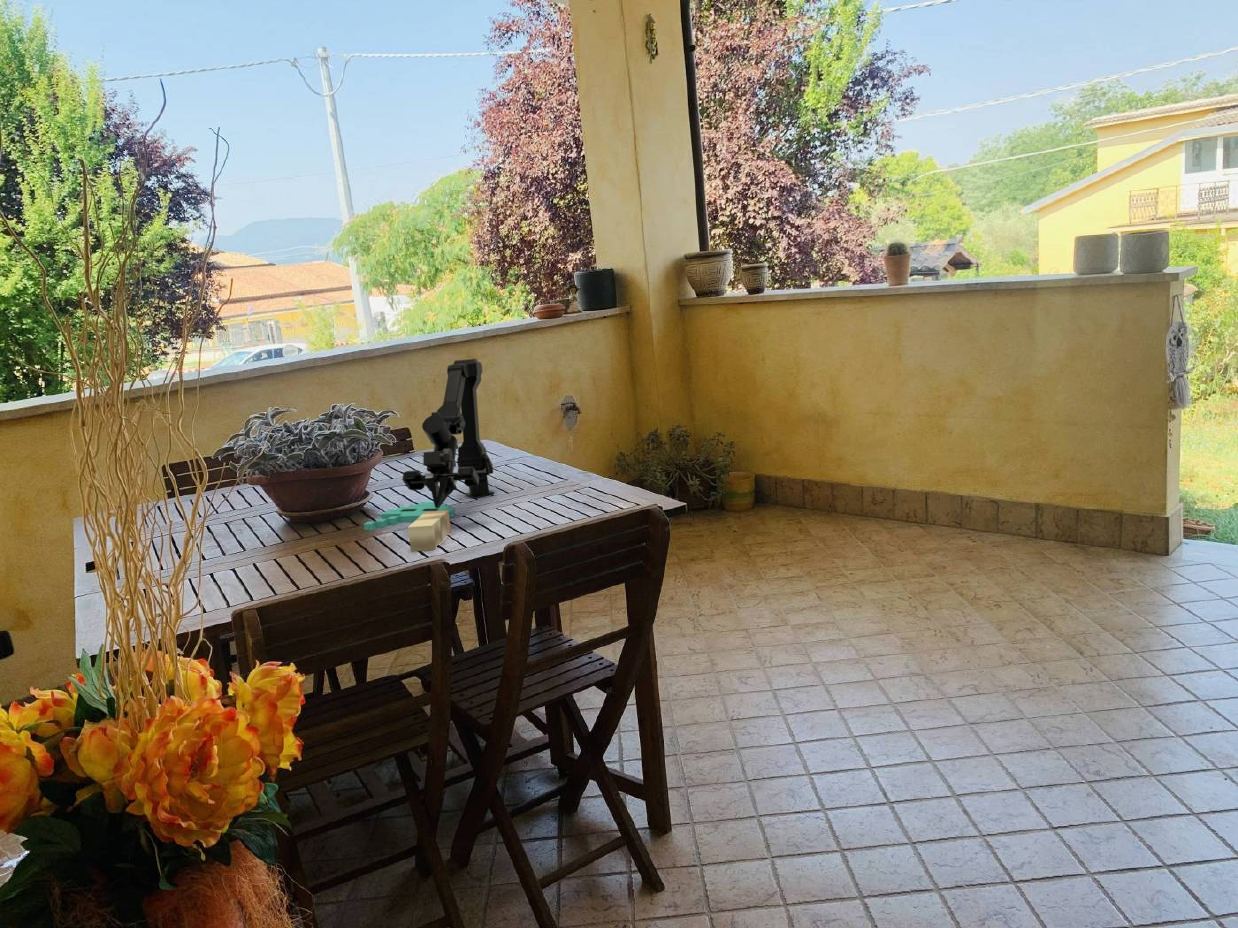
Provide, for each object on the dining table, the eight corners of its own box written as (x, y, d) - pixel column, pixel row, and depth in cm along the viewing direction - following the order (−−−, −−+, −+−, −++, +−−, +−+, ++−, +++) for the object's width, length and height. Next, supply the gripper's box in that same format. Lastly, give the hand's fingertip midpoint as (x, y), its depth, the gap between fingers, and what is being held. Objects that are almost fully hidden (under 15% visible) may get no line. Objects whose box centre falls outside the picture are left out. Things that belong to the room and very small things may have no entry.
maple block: (425, 511, 230) (407, 527, 217) (448, 510, 229) (431, 525, 216) (428, 534, 231) (411, 551, 218) (451, 533, 230) (435, 549, 218)
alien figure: (433, 531, 235) (466, 508, 254) (432, 523, 235) (465, 501, 253) (365, 532, 241) (402, 510, 260) (363, 524, 240) (400, 502, 259)
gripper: (399, 440, 232) (389, 493, 224) (469, 435, 230) (463, 488, 221) (414, 463, 242) (405, 515, 233) (482, 458, 239) (476, 511, 231)
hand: (436, 507), depth 230 cm, fingers closed
